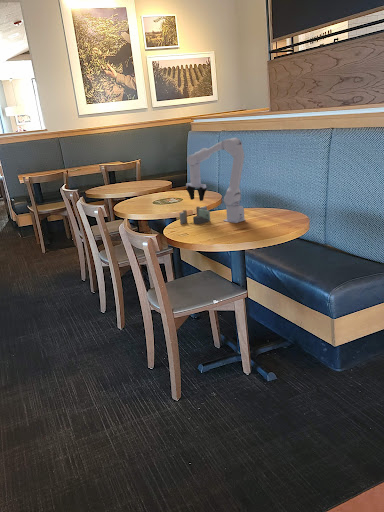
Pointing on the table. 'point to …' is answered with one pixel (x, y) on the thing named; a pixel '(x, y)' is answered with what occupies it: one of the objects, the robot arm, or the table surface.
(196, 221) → the wedge
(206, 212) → the door
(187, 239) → the table surface
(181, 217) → the door frame
